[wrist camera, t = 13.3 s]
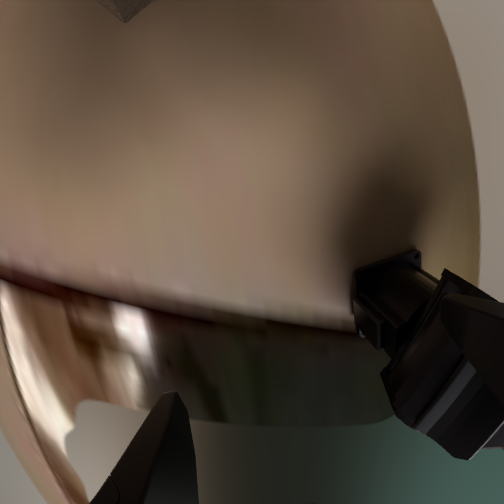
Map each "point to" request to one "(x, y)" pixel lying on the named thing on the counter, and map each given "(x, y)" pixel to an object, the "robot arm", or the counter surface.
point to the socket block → (124, 7)
